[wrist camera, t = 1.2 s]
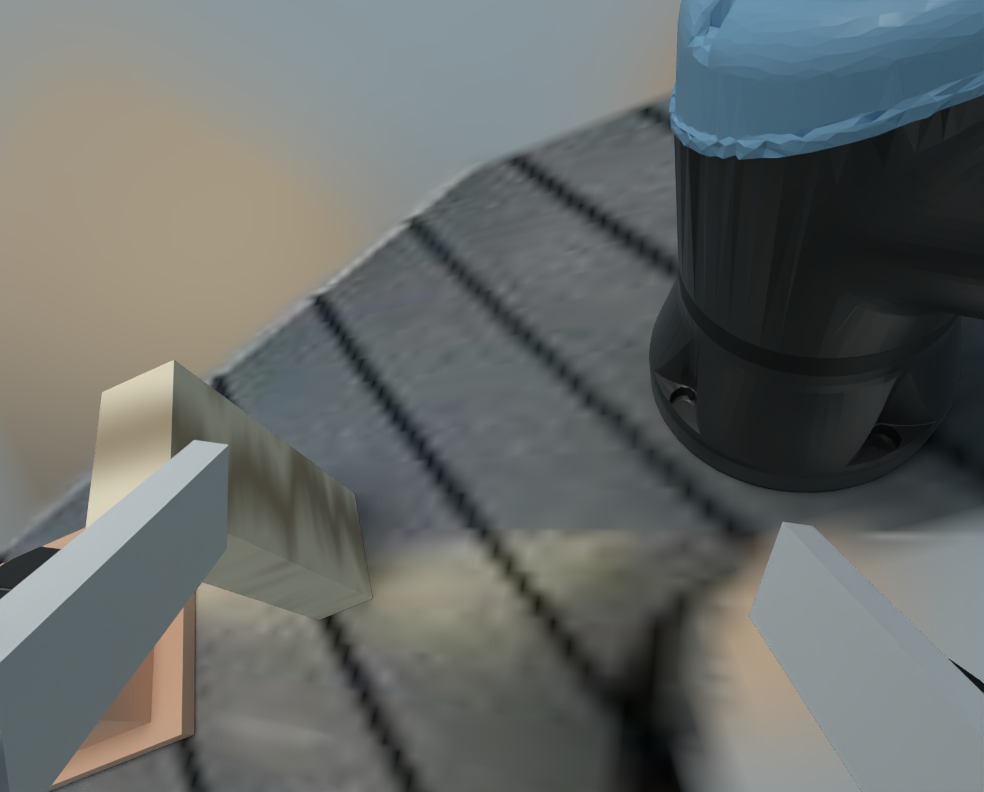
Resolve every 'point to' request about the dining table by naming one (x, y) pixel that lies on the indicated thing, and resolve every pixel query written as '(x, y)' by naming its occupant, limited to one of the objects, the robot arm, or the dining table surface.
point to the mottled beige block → (238, 492)
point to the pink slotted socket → (143, 702)
